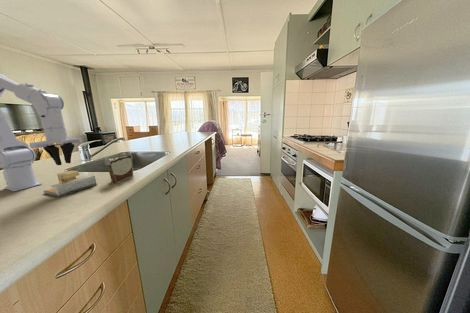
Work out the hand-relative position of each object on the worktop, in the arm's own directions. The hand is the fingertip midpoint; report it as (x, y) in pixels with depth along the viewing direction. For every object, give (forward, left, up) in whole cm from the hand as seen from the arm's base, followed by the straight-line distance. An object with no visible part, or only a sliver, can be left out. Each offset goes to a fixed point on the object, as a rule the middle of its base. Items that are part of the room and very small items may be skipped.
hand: (63, 164), depth 69 cm
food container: (+10, +13, -10) cm, 19 cm away
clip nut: (+1, 0, -8) cm, 8 cm away
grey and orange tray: (+3, -1, -9) cm, 10 cm away
